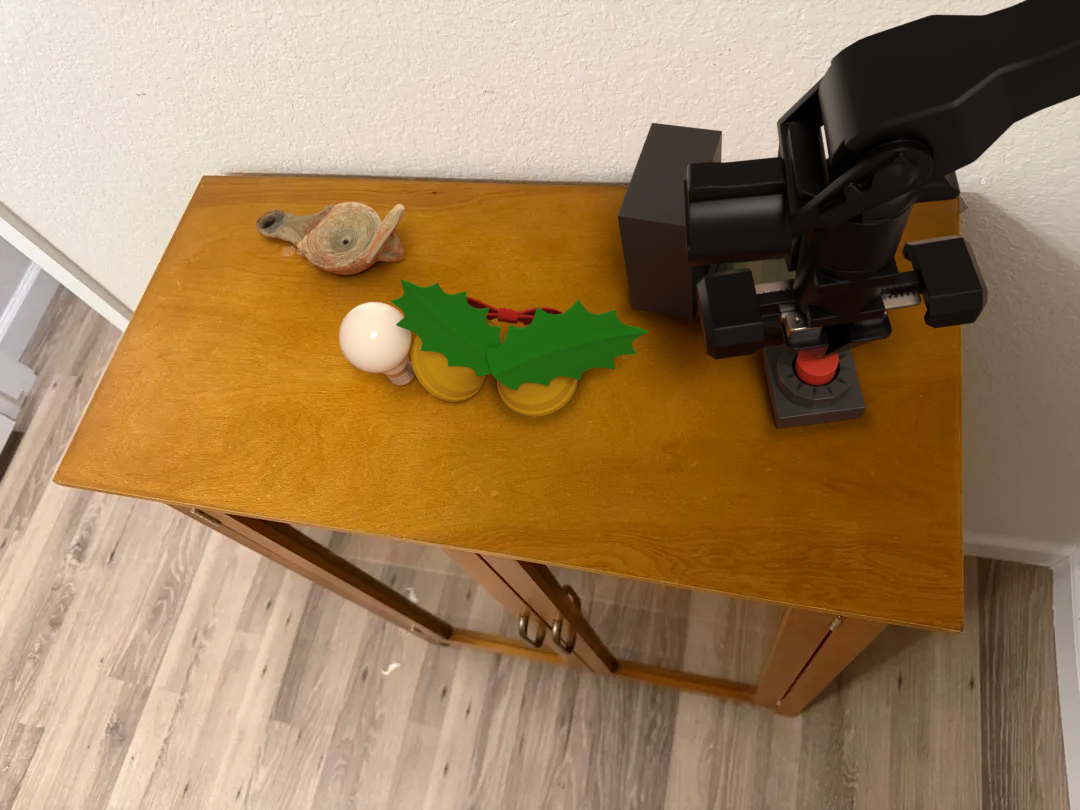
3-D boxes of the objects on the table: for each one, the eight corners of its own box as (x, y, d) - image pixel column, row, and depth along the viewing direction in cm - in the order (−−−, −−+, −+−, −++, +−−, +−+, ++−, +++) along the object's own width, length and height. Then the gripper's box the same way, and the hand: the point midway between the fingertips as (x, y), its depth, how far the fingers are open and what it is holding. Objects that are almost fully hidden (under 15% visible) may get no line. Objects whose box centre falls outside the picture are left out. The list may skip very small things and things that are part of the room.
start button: (830, 348, 65) (834, 338, 63) (839, 382, 63) (843, 372, 62) (791, 354, 65) (793, 344, 64) (799, 387, 64) (801, 378, 62)
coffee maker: (830, 252, 73) (856, 143, 60) (807, 344, 69) (830, 248, 57) (660, 225, 78) (651, 119, 65) (631, 309, 74) (616, 215, 62)
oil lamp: (417, 306, 79) (381, 247, 70) (252, 265, 86) (200, 207, 77) (450, 239, 82) (420, 174, 73) (288, 205, 89) (242, 142, 80)
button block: (842, 347, 68) (849, 323, 65) (861, 418, 65) (870, 398, 62) (761, 358, 70) (764, 336, 66) (776, 429, 66) (780, 409, 63)
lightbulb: (361, 389, 76) (312, 334, 66) (397, 338, 78) (355, 277, 68) (411, 416, 74) (368, 363, 64) (447, 363, 76) (411, 304, 66)
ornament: (610, 373, 77) (648, 254, 66) (610, 439, 72) (652, 321, 60) (403, 343, 76) (407, 216, 64) (387, 408, 70) (388, 281, 59)
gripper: (969, 112, 50) (912, 254, 64) (683, 163, 53) (687, 289, 67) (1027, 249, 46) (952, 371, 59) (708, 298, 48) (707, 404, 62)
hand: (818, 354), depth 62 cm, fingers closed
